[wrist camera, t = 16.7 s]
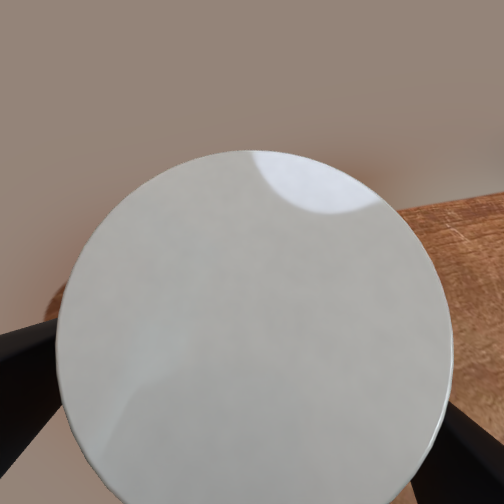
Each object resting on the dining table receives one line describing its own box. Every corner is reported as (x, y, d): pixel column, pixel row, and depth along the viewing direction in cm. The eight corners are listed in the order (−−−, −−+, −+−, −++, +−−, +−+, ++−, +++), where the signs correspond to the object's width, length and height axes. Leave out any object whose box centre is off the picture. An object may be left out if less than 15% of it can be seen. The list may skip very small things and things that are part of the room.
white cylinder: (329, 345, 15) (519, 282, 5) (252, 445, 13) (273, 769, 2) (248, 273, 17) (250, 108, 7) (169, 350, 15) (-22, 293, 4)
